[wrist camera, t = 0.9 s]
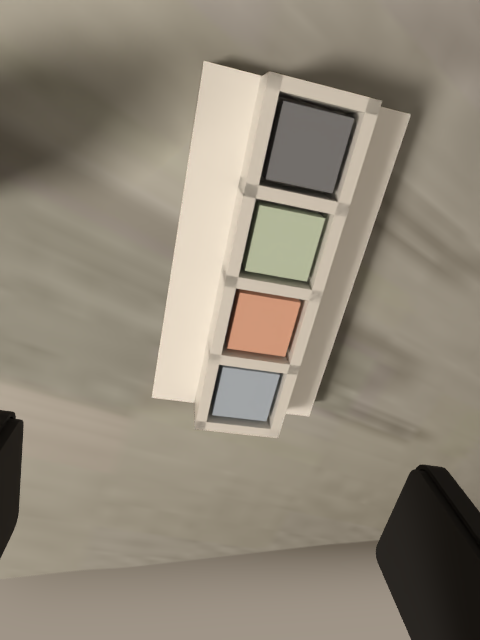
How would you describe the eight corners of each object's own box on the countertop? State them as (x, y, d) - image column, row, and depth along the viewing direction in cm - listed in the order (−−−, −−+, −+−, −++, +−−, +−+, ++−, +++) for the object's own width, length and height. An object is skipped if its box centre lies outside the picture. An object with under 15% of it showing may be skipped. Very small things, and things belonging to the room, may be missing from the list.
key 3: (237, 283, 31) (239, 292, 29) (295, 293, 32) (300, 302, 30) (225, 337, 33) (227, 348, 31) (280, 345, 33) (285, 356, 32)
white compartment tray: (203, 64, 28) (205, 52, 23) (398, 114, 30) (438, 113, 25) (153, 384, 38) (147, 425, 33) (303, 403, 40) (319, 443, 35)
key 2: (256, 200, 29) (259, 205, 27) (318, 213, 29) (325, 218, 28) (242, 262, 30) (244, 270, 29) (301, 273, 31) (306, 281, 30)
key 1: (277, 101, 26) (283, 100, 25) (344, 118, 27) (354, 118, 25) (261, 175, 28) (265, 178, 26) (324, 189, 29) (332, 193, 27)
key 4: (221, 355, 33) (222, 367, 32) (275, 362, 34) (279, 374, 32) (211, 401, 35) (212, 415, 33) (263, 407, 36) (266, 421, 34)
